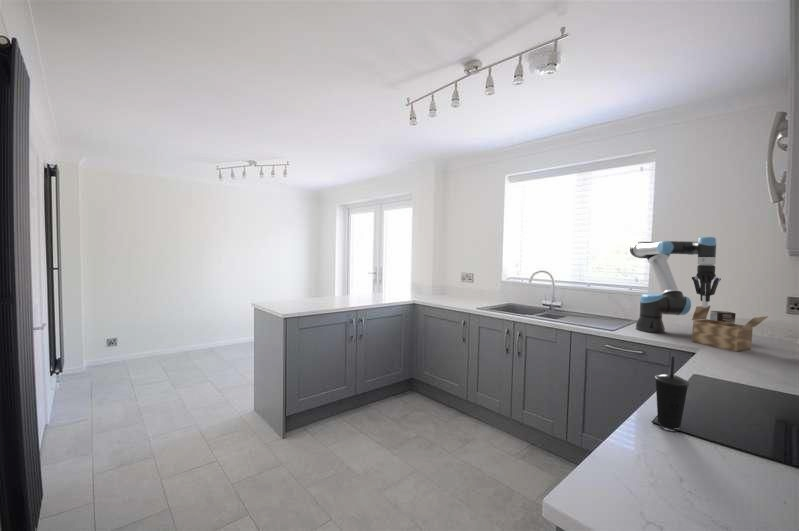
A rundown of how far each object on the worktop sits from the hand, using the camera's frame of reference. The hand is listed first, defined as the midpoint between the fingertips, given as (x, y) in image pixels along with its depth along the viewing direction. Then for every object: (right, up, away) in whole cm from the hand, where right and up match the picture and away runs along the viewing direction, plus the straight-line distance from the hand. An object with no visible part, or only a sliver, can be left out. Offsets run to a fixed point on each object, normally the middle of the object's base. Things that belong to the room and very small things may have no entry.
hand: (704, 307), depth 197 cm
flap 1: (-1, -3, +1) cm, 4 cm away
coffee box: (+16, -20, +8) cm, 27 cm away
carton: (+3, -20, -7) cm, 21 cm away
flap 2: (+8, -5, -19) cm, 21 cm away
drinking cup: (-95, -22, -98) cm, 139 cm away
